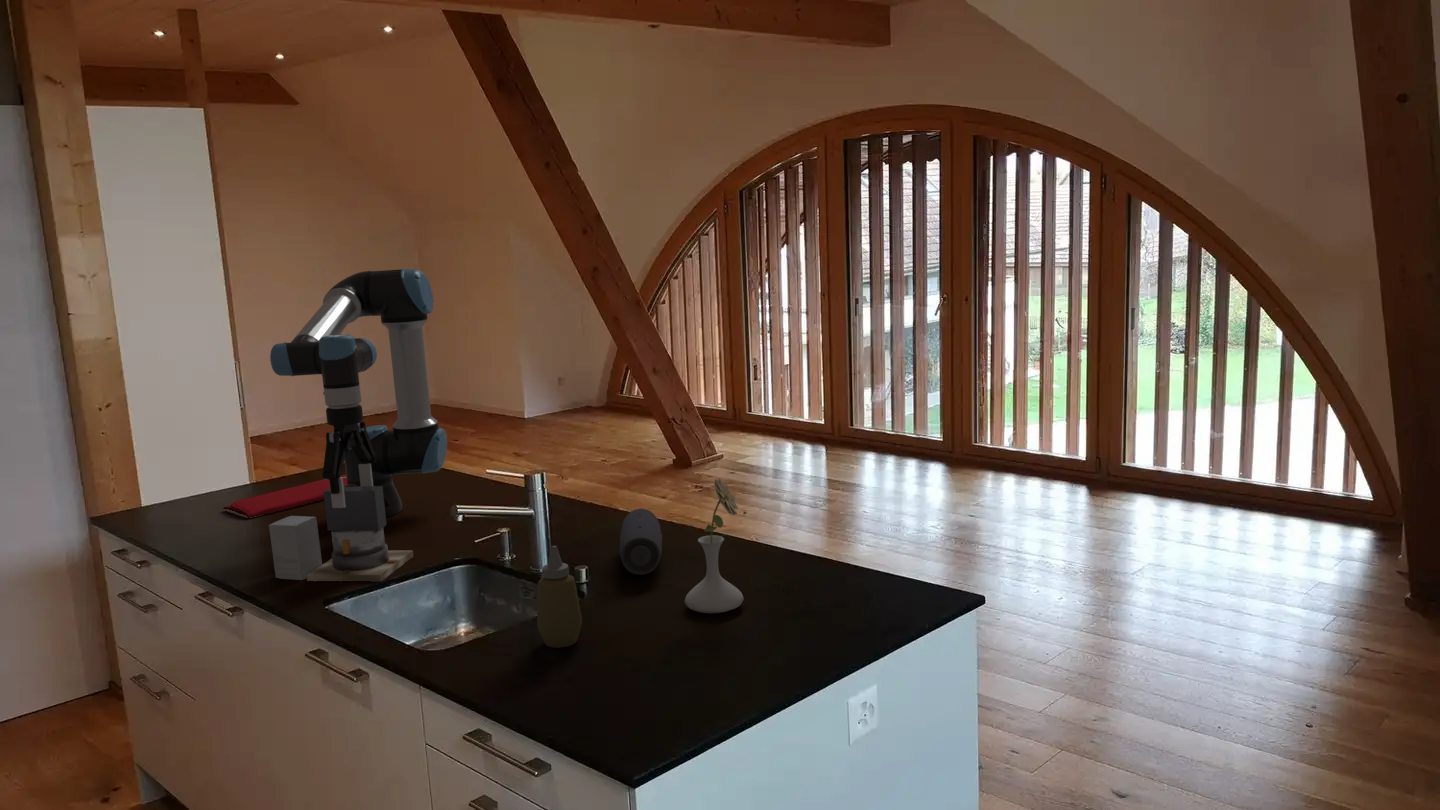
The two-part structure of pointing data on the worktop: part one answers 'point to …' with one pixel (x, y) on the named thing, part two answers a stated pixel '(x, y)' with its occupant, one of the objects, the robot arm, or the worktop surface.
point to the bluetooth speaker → (640, 542)
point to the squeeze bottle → (558, 604)
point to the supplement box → (295, 547)
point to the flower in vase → (715, 566)
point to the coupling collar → (357, 521)
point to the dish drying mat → (282, 498)
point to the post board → (362, 574)
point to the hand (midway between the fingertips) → (353, 499)
